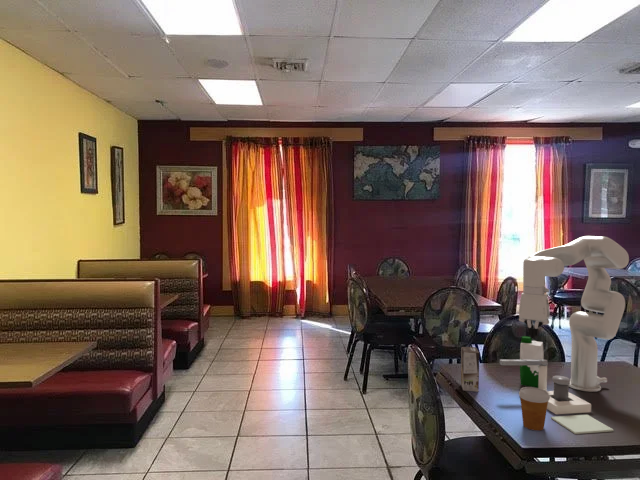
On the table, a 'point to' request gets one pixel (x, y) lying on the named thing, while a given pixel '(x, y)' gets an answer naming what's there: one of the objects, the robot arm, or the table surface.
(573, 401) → the socket base
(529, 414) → the disposable coffee cup
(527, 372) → the milk carton
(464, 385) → the coffee box
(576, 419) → the rubber mat
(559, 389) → the plug
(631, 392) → the table surface
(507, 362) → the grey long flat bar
